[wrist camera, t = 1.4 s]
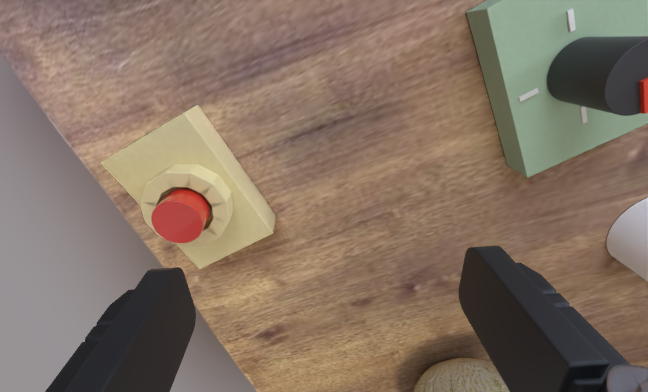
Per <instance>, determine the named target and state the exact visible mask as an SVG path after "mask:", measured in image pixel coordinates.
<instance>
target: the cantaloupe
mask: <svg viewBox="0 0 648 392" xmlns="http://www.w3.org/2000/svg"><path fill="white" fill-rule="evenodd" d="M413 392H510V391H509V390H508V388H507V386H506V384H505V383H504V381H503V379H502V377H501V376H500V374H499V372H498V370H497V369H496V367H495V365H494V364H492V363H490V362H488V361H485V360H482V359H479V358H456V359H451V360H447V361H443V362H439V363H438V364H435V365H433V366H431V367H430V368H429V369H428V370H427V371H425V372H424V373H423V375H422V376H421V377H420V379H419V380H418V382H417V384H416V385H415V388H414V391H413Z"/></svg>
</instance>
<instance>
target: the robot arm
mask: <svg viewBox="0 0 648 392" xmlns="http://www.w3.org/2000/svg"><path fill="white" fill-rule="evenodd" d="M459 299H460V304H461V307H462V309H463V311H464V313H465V315H466V317H467V319H468V320H469V322H470V324H471V325H472V327H473V329H474V331H475V332H476V334H477V336H478V338H479V339H480V341H481V343H482V345H483V346H484V348H485V350H486V351H487V353H488V355H489V357H490V358H491V360H492V362H493V364H494V365H495V367H496V369H497V370H498V372H499V374H500V376H501V377H502V379H503V381H504V383H505V384H506V386H507V388H508V390H509V391H510V392H648V368H646V367H642V366H638V365H631V364H630V363H628V362H627V361H626V360H625V359H624V358H623V357H622V356H621V355H620V354H619V353H618V352H617V351H616V350H615V349H614V348H613V347H612V346H611V345H610V344H609V343H608V342H607V341H606V340H605V339H604V338H603V337H602V336H601V335H600V334H599V333H598V332H597V331H596V330H595V329H594V328H593V327H592V326H591V325H590V324H589V323H588V322H587V321H586V320H585V319H584V318H583V317H582V316H581V315H580V314H579V313H578V312H577V311H576V310H575V309H574V308H573V307H570V306H569V303H568V302H567V301H566V300H565V299H564V298H563V297H562V296H561V295H560V294H559V293H556V290H555V289H554V288H553V287H552V286H551V285H550V284H549V283H548V282H547V281H546V280H545V279H544V278H543V277H542V276H541V275H540V274H538V273H537V272H535V271H533V270H532V269H530V268H528V267H527V266H525V265H524V264H522V263H515V262H514V261H513V260H512V259H511V258H510V256H509V255H508V254H507V253H506V252H505V251H504V250H503V249H502V248H501V247H499V246H485V247H471V248H468V249H467V251H466V254H465V259H464V264H463V270H462V275H461V280H460V286H459ZM195 319H196V314H195V307H194V304H193V300H192V297H191V294H190V291H189V288H188V285H187V282H186V279H185V275H184V273H183V271H182V269H181V268H178V267H177V268H163V269H151V270H149V271H147V273H146V274H145V275H144V277H143V278H142V280H141V281H140V282H139V284H138V285H137V287H136V288H135V290H128V291H127V292H126V293H124V294H123V295H122V296H121V297H120V298H118V299H117V300H116V301H115V302H113V303H112V304H111V305H110V306H109V307H108V308H107V310H106V311H105V313H104V314H103V315H102V317H101V318H100V319H99V321H98V322H97V326H96V327H93V329H92V330H91V332H90V333H89V334H88V335H87V337H86V339H85V342H82V343H81V345H80V346H79V347H78V349H77V350H76V351H75V353H74V354H73V356H72V357H71V358H70V360H69V361H68V362H67V363H66V365H65V366H64V367H63V369H62V370H61V372H60V373H59V374H58V376H57V377H56V378H55V380H54V381H53V382H52V384H51V385H50V386H49V388H48V389H47V390H46V392H169V391H170V389H171V387H172V384H173V381H174V379H175V376H176V374H177V371H178V369H179V366H180V364H181V361H182V359H183V356H184V353H185V351H186V348H187V346H188V343H189V341H190V338H191V335H192V333H193V330H194V327H195Z"/></svg>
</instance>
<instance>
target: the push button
mask: <svg viewBox="0 0 648 392" xmlns="http://www.w3.org/2000/svg"><path fill="white" fill-rule="evenodd" d="M209 217H210V207H209V204H208V202H207V201H206V199H205V198H204V197H203V196H202V195H200V194H199V193H197V192H195V191H193V190H189V189H176V190H173V191H171V192H170V193H168V194H167V195H166V196H165V197H164V198H163V200H162V201H161V202H160V203H159V204H158V205H157V206H156V207H155V209H154V210H153V212H152V216H151V221H152V225H153V227H154V229H155V231H156V232H157V233H158V234H159V235H160V236H161V237H163V238H164V239H166V240H168V241H171V242H174V243H188V242H191V241H194V240H195V239H197V238H198V237H199V236H200V234H201V233H202V231H203V229H204V227H205V225H206V223H207V222H208V220H209Z"/></svg>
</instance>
